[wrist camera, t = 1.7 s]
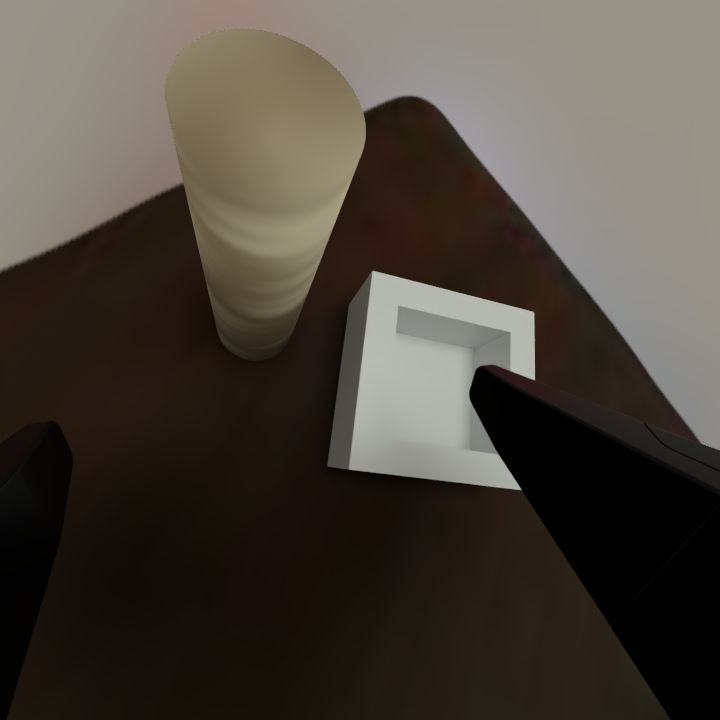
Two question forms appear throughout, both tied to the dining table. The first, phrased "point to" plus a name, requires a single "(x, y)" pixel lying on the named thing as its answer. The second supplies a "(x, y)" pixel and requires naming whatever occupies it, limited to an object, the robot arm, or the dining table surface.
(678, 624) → the robot arm
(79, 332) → the dining table surface
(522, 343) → the end cap
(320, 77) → the dowel
